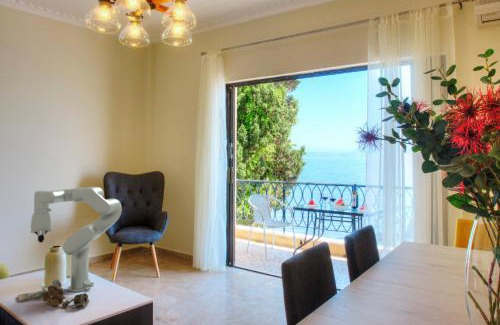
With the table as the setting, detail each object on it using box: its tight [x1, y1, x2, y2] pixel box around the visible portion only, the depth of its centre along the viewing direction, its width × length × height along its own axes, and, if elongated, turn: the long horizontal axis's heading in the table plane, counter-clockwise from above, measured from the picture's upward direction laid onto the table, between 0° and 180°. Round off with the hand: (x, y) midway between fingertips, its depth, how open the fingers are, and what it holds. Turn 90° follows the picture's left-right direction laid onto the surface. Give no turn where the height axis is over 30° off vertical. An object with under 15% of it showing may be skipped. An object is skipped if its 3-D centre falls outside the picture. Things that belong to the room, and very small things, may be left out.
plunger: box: [40, 283, 46, 293], centre depth 198 cm, size 1×8×4 cm, turn 37°
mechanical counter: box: [61, 292, 90, 309], centre depth 184 cm, size 7×13×10 cm
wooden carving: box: [41, 284, 67, 307], centre depth 186 cm, size 16×5×10 cm, turn 68°
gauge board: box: [17, 279, 62, 303], centre depth 199 cm, size 20×10×6 cm, turn 127°
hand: (40, 242), depth 212 cm, fingers closed
